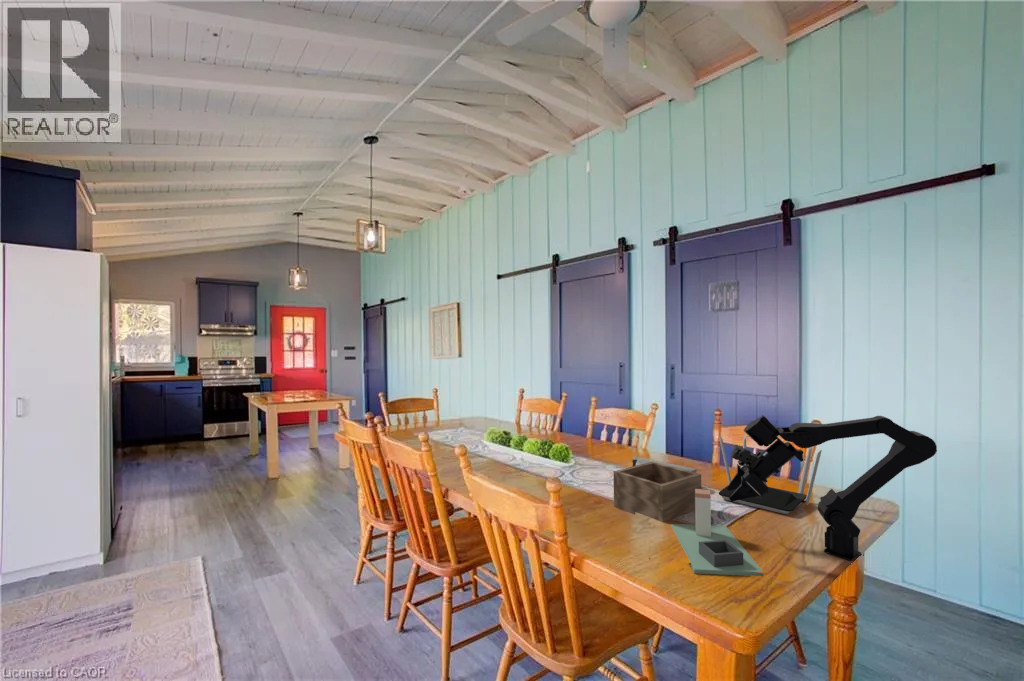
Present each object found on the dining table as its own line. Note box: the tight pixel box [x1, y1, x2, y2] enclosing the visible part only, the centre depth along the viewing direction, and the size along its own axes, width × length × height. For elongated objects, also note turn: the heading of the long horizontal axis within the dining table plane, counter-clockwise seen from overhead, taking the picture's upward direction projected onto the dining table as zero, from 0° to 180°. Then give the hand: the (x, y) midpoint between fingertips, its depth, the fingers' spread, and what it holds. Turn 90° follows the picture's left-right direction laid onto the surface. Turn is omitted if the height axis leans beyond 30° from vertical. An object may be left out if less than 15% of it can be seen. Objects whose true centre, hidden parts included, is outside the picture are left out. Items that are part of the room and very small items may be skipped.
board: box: [669, 523, 764, 577], centre depth 129 cm, size 28×16×1 cm, turn 173°
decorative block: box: [631, 455, 697, 473], centre depth 189 cm, size 8×30×8 cm, turn 40°
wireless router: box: [718, 434, 822, 515], centre depth 167 cm, size 34×23×20 cm
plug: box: [694, 488, 712, 537], centre depth 137 cm, size 4×4×12 cm
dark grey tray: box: [699, 540, 743, 567], centre depth 122 cm, size 8×8×3 cm
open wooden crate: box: [612, 462, 702, 523], centre depth 160 cm, size 20×20×12 cm
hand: (729, 494), depth 135 cm, fingers open, 9 cm apart
